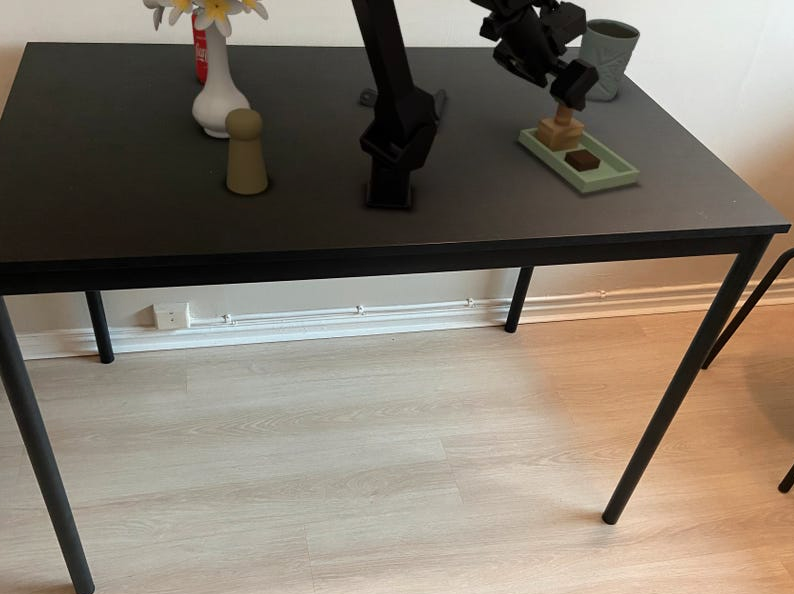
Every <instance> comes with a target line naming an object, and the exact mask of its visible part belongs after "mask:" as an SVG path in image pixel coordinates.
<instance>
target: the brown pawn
mask: <svg viewBox="0 0 794 594" xmlns="http://www.w3.org/2000/svg"><path fill="white" fill-rule="evenodd" d="M225 127H226V131H227V133H228V134H229V135H230V137H229V144H228V158H227V173H226V174H227V175H226V186H227V189H229V190H230V191H232V192H234V193H236V194H240V195H254V194H259V193H261V192H263V191H265V190H266V189H267V188H268V185H269V182H268V176H267V170H266V166H265V165H266V164H265V160H264V155H263V149H262V144H261V138H260V136H261V134H262V132H263V128H264V122H263V119H262V116H261V115H260V113H258V111H256V110H254V109H247V108H239V109H235V110H232V111H230V112H229V113H228V115H227V116H226V119H225Z"/></svg>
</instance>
